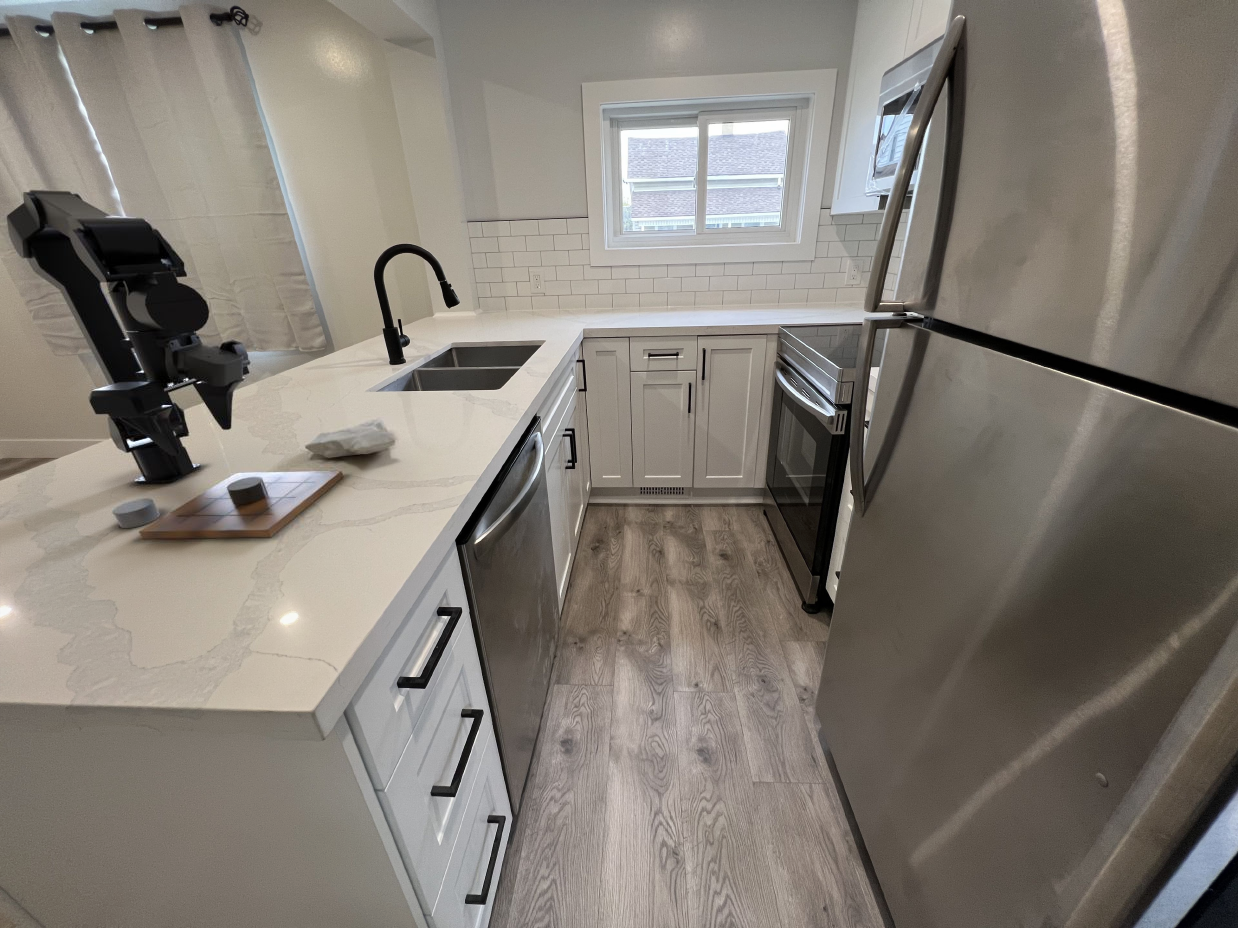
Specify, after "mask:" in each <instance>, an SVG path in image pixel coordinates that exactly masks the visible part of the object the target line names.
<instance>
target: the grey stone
mask: <svg viewBox="0 0 1238 928" xmlns="http://www.w3.org/2000/svg"><path fill="white" fill-rule="evenodd" d="M112 514H113V516H114V518H115V520H116V521H117V524H118V525H119V527H120V528H122V529H132V528H138V527H141V526H144V525H147V524H149V523H150V524H151V523H153V522H155V521H156V520H158V518H159V517H160V516H161V513H160V511H159V508H158V507H157V505H156V502H155V501H154V499H153V498H149V497H148V498H147V497H146V498H139V499H134V500H130V501H127V502H125V503H122V504H120V505H118V506H116V507H114V508H113V509H112Z"/></svg>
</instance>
